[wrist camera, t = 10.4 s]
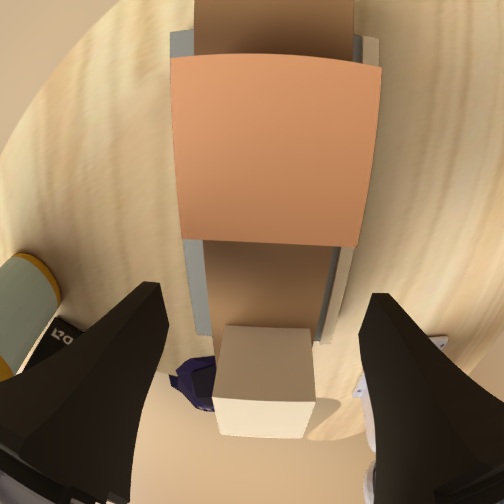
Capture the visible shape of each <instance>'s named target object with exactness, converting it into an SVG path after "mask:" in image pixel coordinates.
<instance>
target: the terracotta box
mask: <svg viewBox="0 0 504 504" xmlns="http://www.w3.org/2000/svg"><path fill="white" fill-rule="evenodd" d="M170 62H171V105H172V127H173V144H174V159H175V173H176V185H177V196H178V206H179V216H180V225H181V234H182V239H194V240H217V241H239V242H260V243H280V244H300V245H319V246H338V247H356V248H357V244H358V240H359V235H360V230H361V225H362V220H363V215H364V210H365V204H366V199H367V193H368V187H369V181H370V175H371V168H372V162H373V154H374V147H375V139H376V131H377V122H378V112H379V101H380V88H381V73H382V67H377V66H372V65H367V64H361V63H356V62H350V61H343V60H336V59H328V58H320V57H310V56H298V55H283V54H213V55H198V56H186V57H176V58H170Z"/></svg>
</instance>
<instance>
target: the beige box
mask: <svg viewBox="0 0 504 504" xmlns="http://www.w3.org/2000/svg"><path fill="white" fill-rule="evenodd" d="M212 400H213V404H214V409H215V414H216V417H217V422H218V427H219V431H220V434H222V435H232V436H245V437H262V438H302V436H303V433H304V431H305V429H306V426H307V424H308V421H309V418H310V416H311V413H312V411H313V408H314V405H315V403H316V396H315V381H314V368H313V356H312V345H311V334H310V329H305V328H272V327H250V326H233V325H225V328H224V334H223V339H222V344H221V350H220V355H219V361H218V366H217V372H216V377H215V383H214V388H213V394H212Z"/></svg>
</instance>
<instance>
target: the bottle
mask: <svg viewBox="0 0 504 504" xmlns="http://www.w3.org/2000/svg"><path fill="white" fill-rule="evenodd" d="M60 301H61V299H60V292H59V286H58V284H57V281H56V279H55V277H54V276H53V274H52V272H51V271H50V270H49V269H48V267H47V266H46V265H45V264H44V263H43V262H42V261H40V260H39V259H38V258H36V257H34V256H32V255H30V254H24V253H17V254H14V255H13V256H12V257H11V258H9V259H8V260H7V261H6V262H5V263H4V264H3V265H2V266H1V267H0V382H1V381H4V380H6V379H9V378H11V377H13V376H15V375H16V373H17V371H18V370H19V368H20V366H21V364H22V363H23V361H24V359H25V358H26V356H27V355H28V353H29V351H30V350H31V348H32V347H33V345H34V343H35V342H36V340H37V339H38V337H39V336H40V334H41V333H42V331H43V330H44V328H45V327H46V325H47V324H48V322H49V321H50V319H51V318H52V316H53V315H54V313H55V312H56V310H57V309H58V307H59V305H60Z"/></svg>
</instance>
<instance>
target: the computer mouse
mask: <svg viewBox="0 0 504 504" xmlns="http://www.w3.org/2000/svg"><path fill="white" fill-rule="evenodd" d="M176 372H177V375H178V376H174V375H170V374H168V375H169V379H170V384H171V386H172V387H173V388H175V389H176V390H178V391H180V392H181V393H183V395H185V397H186V398H187V399H188V400H189V401H190V402H191V403H192V404H193V405H194V406H195V408H197V409H201V410H204V411H209V412H212V411H213V412H215V409H214V404H213V400H212V394H213V388H214V383H215V377H216V372H217V367H216V360H215V356H209V357H200V358H190V359H189V360H187V361H185V362H184V363H183V364H182V365H181V366H180V367H179V368H178V369H177V370H176Z"/></svg>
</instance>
